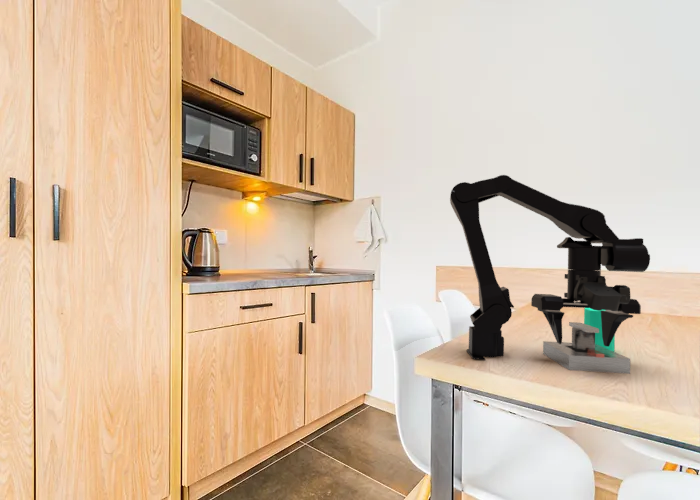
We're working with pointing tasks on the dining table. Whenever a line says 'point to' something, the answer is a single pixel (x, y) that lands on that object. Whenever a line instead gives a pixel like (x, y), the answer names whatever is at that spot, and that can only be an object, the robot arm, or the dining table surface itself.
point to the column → (583, 336)
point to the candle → (594, 320)
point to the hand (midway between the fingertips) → (582, 344)
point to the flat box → (586, 358)
